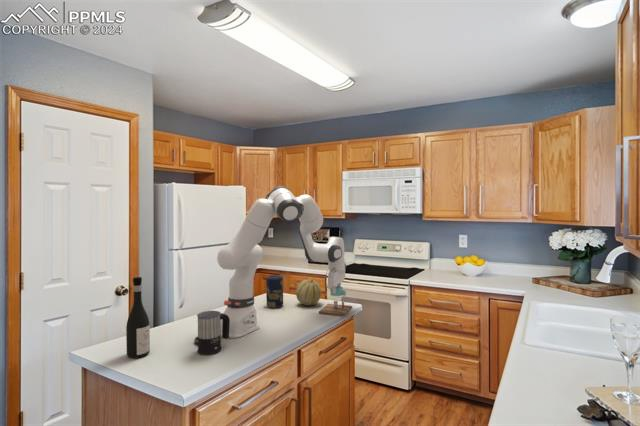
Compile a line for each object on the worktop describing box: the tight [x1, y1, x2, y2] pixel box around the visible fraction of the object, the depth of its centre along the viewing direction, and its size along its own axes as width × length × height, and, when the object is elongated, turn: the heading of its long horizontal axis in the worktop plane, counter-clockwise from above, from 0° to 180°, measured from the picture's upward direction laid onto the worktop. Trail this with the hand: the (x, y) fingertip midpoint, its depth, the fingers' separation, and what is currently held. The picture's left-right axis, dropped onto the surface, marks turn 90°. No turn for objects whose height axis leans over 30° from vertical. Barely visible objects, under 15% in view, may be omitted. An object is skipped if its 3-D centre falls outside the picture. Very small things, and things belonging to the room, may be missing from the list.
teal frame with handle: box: [330, 285, 347, 297], centre depth 200 cm, size 8×5×4 cm
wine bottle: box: [125, 276, 151, 359], centre depth 143 cm, size 8×8×30 cm
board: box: [318, 300, 353, 317], centre depth 201 cm, size 16×14×5 cm
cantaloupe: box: [295, 278, 322, 307], centre depth 213 cm, size 15×15×15 cm
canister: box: [265, 274, 284, 309], centre depth 210 cm, size 10×10×18 cm
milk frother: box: [193, 310, 230, 356], centre depth 150 cm, size 14×16×15 cm
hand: (336, 291), depth 200 cm, fingers closed on teal frame with handle, 5 cm apart
